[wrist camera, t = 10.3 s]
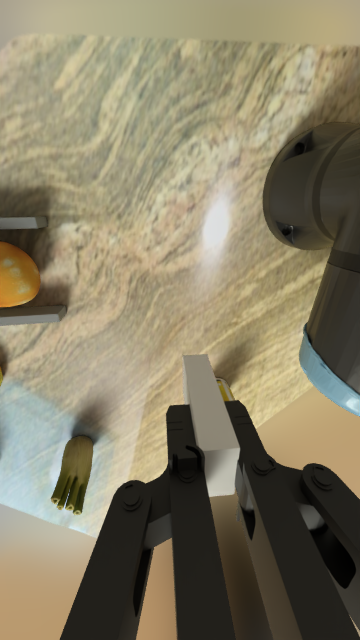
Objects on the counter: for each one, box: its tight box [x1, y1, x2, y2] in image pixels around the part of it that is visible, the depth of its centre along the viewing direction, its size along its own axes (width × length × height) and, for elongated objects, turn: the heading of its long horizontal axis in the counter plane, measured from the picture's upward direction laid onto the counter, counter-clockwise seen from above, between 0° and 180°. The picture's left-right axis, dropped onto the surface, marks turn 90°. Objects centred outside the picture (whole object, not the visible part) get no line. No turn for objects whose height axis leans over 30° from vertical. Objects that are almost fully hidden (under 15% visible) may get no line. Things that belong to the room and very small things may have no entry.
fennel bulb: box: [51, 436, 93, 515], centre depth 43 cm, size 6×5×12 cm
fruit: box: [0, 241, 41, 307], centre depth 31 cm, size 8×8×8 cm
